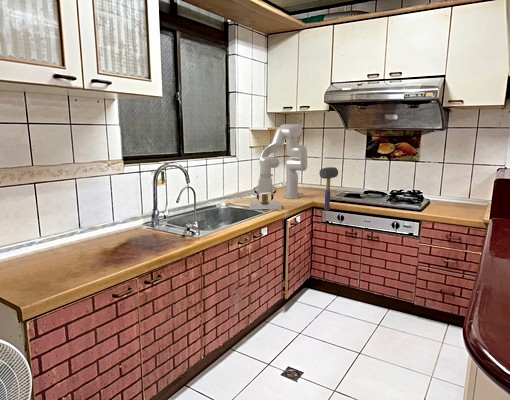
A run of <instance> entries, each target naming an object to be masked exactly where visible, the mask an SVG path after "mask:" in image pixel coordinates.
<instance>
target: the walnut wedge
mask: <svg viewBox="0 0 510 400" xmlns="http://www.w3.org/2000/svg"><path fill="white" fill-rule="evenodd" d="M261 201H262V204H268V201H269V194H268V193H264V194H262V195H261Z"/></svg>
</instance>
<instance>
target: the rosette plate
mask: <svg viewBox="0 0 510 400" xmlns="http://www.w3.org/2000/svg"><path fill="white" fill-rule="evenodd" d="M248 204H249V205H248V206H249V207H248V208H249V210H263V209H278V211H279V210H280V211H281V210H282V203H281V201H278V200H276V201H275V200H268V204H262V200H249V201H248Z"/></svg>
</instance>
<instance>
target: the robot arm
mask: <svg viewBox="0 0 510 400" xmlns="http://www.w3.org/2000/svg"><path fill="white" fill-rule="evenodd" d="M302 133H303V127H302V125H300V124H299V123H295V124H294V123H292V124H291V123H284V124H280V125H279V126H278V127H277V128H276V130H275V133H274V134H273V135H274V136H273V139H272V141H271V143H270V144H269V145H267V147H265V148H264V149H263V150H262V152H261V154H260V157H259V165H260V166H259V170H260V171H259V174H260V175H259V177H258V182H257V185H256V186H253V187H252V190H253V192H254V193H255V194H256V199H257V201H260V193H270V194H271V195H270V201H273V199H274V195H275V194H276V193H277V191H278V188H277V187H276V186H274V185H273V178H272V177H273V176H274V174H273V173H272V169H275V168H278V167H279V165H280V160H279V158H278V157H274V156H269V155H271V154H273V153H275V152H278V151H280V150H282V148H283V147H284V144H285V143H286V155H287V156H288V157H289V158H287V159H286V160H285V163H284V164H285V171H286V172H285V175H286V178H285V180H286V182H285V194H283V198H286V199H299V198H300V196H304V193H303V192H299V174H298V172H297V171H299V172H305V171H306V170H307V168H308V149H307V147H306V145H303V144H298V137H299V136H301V135H302ZM256 189H257V191H256ZM273 189H274V190H273Z"/></svg>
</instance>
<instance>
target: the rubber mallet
mask: <svg viewBox="0 0 510 400" xmlns="http://www.w3.org/2000/svg"><path fill="white" fill-rule="evenodd" d="M318 174H319V177H320V178H321V179H323V180H325V179H326V184H325V185H326V187H325V191H324V192H325V193H324V206H323V210H324V211H325V212H330V209H331V207H330V206H331V205H330V204H331V179H333V178H337V177H338V175H339V169H338V168H337V167H333V166H330V167H329V166H328V167H323V168H321V169H320V170H319V173H318Z"/></svg>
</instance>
